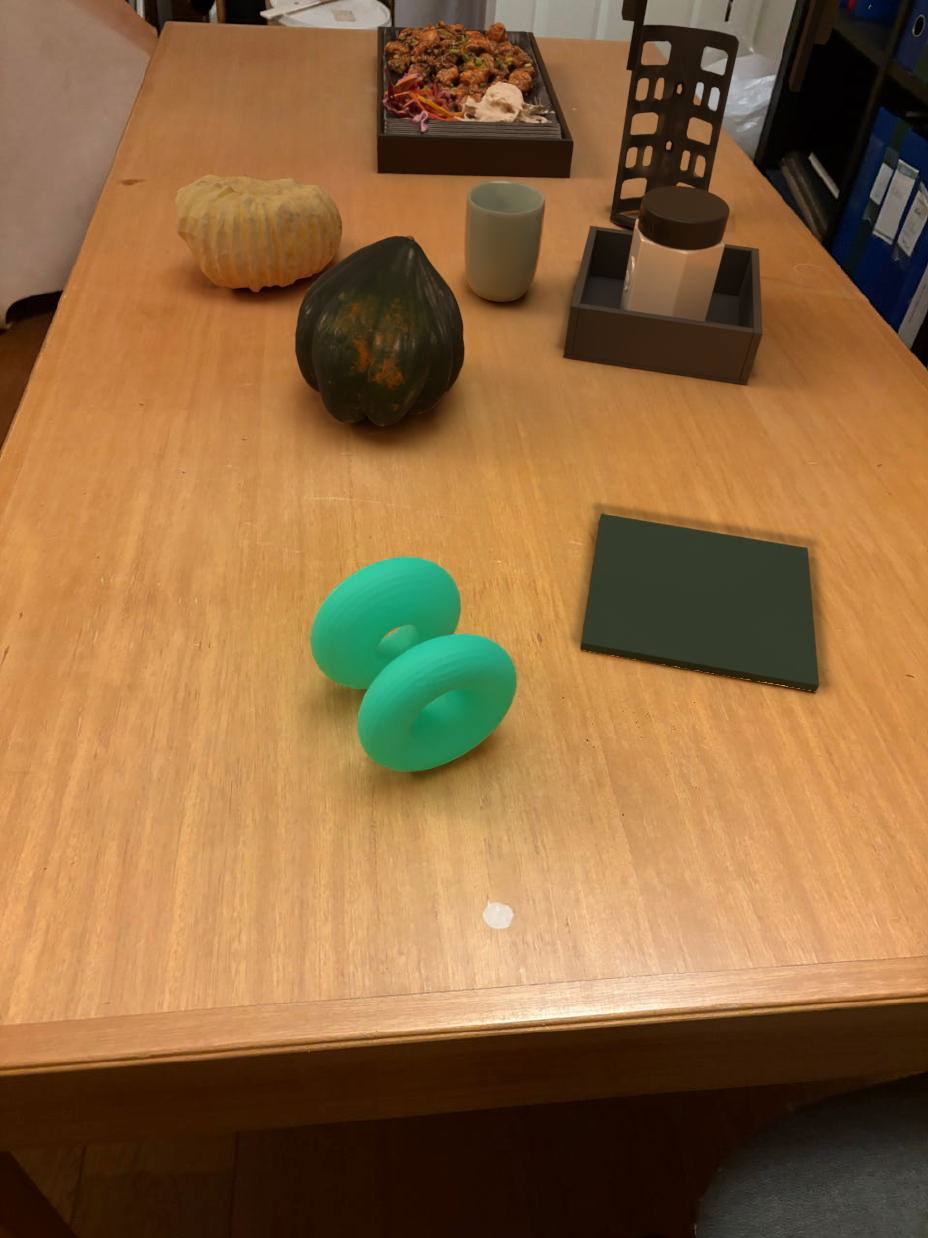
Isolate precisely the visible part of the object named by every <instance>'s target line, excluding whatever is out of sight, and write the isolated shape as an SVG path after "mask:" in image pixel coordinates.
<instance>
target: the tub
mask: <svg viewBox="0 0 928 1238" xmlns="http://www.w3.org/2000/svg"><path fill="white" fill-rule="evenodd" d="M633 233H634V230H633V231H632V230H625V229H616V228H612V227H611V228H610V227H602V226H596V225H589V229H588V233H587V237H586V240H585V245H584V249H583V254H582V257H581V261H580V266H579V270H578V274H577V278H576V282H575V285H574V290H573V295H572V299H571V303H570V307H569V313H568V314H569V315H568V321H567V329H566V336H565V341H564V349H563V356H562V357H563V358H565V359H570V360H578V361H583V362H584V361H585V362H591V363H596V364H597V363H598V364H603V365H604V364H605V365H611V366H618V367H624V368H630V369H631V368H632V369H637V370H643V371H650V372H656V373H663V374H669V375H676V376H683V377H691V378H696V379H704V380H711V381H717V382H722V383H723V382H724V383H730V384H736V385H737V384H738V385H742V386H743V385H744V386H747V385H748V382H749V379H750V375H751V372H752V369H753V367H754V363H755V360H756V356H757V354H758V351H759V347H760V344H761V341H762V338H763V334H764V332H763V331H764V330H763V313H762V311H763V310H762V309H763V307H762V288H761V267H760V265H761V264H760V249H759V248H757V247H749V246H743V245H735V244H727V243H724V244H725V246H724V250H723V254H722V258H721V262H720V265H719V269H718V273H717V277H716V281H715V285H714V288H713V292H712V296H711V300H710V304H709V308H708V311H707V315H706V319H705V321H698V320H691V319H685V318H678V317H671V316H664V315H657V314H650V313H643V312H636V311H629V310H622V309H620V303H621V298H622V292H623V287H624V282H625V276H626V271H627V266H628V260H629V255H630V249H631V244H632V239H633Z"/></svg>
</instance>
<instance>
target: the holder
mask: <svg viewBox="0 0 928 1238" xmlns="http://www.w3.org/2000/svg"><path fill="white" fill-rule="evenodd" d="M649 42H650V43H651V42H661V43H664V42H668V44H670V50H669V57H668V62H667V63H666V64H643V63H642V60H643V59H642V58H643V52H644V46H645V44H646V43H649ZM739 46H740V41H739V39H738V37H737V36H736V35H734V34H730V33H726V32H723V31H718V30H711V29H705V28H698V27H689V26H682V25H681V26H680V25H670V24H644V25H643V31H642V37H641V43H640V48H639V54H638V60H637V65H636V69H635V71H631V74H630V79H629V80H630V81H629V89H628V94H627V101H626V108H625V114H624V115H625V116H624V120H623V121H624V122H623V129H622V135H621V143H620V149H619V156H618V163H617V170H616V177H615V184H614V191H613V196H612V203H611V208H610V209H611V210H610V216H609V221H611V222H612V223H614V224H617V225H619V226H625V227H628V228H632V229H634V228H635V222H636V220H637V219H638V218H633V217H630V216H628V215H624V214H621V213H624V212H633V211H639V209H640V206H641V203H642V198H643V196H644V195H645V194H646V193H647V192H649V191H650V190H653V189H655V188H659V187H665V186H678V184H679V183H681V184H684V185H688V186H689V187H692V188H697V189H701V190H705V191H708V192H709V191H710V184H711V179H712V174H713V169H714V164H715V160H716V155H717V149H718V145H719V140H720V133H721V130H722V126H723V120H724V116H725V111H726V107H727V102H728V97H729V92H730V88H731V83H732V78H733V74H734V70H735V64H736V60H737V55H738V52H739V51H738V50H739V48H740V47H739ZM706 48H712V49H716V50H718V51H723V52H724V53H726V55H727V59H726V62H725V63H726V64H725V67H724V73H723V74H720V73H717V72H714V71H712V70H711V71H710V70H706V69H703V68H702V61H703V56H704V52H705V49H706ZM643 79H647V80H648V85H647V91H646V97H645V98H644V99H641V100H639V99H637V92H638V85H639V81H641V80H643ZM660 79H663V90H662V96H661V98H660V99H658V98H656V97H655V95H656V89H657V86H658V85H657V84H658V81H659V80H660ZM698 84H702V85H703V90H702V95H701V99H700V104H696V103H695V101H694V100H695V96H696V91H697V86H698ZM679 86H681V91H680V93H679V92H678V89H679ZM715 88H716V89H718V92H719V95H718V100H717V107H716V109H715V110H714V109H712V108H711V107H710V106H709V102H710V98H711V93H712V89H715ZM649 113H651V114H652V113H653V114H655V115H657V124H656V128H655V131H654V132H653V133H639V134H637V133H636V134H632V133H631V132H632V124H633V118H634V116H637V115H638V114H649ZM693 118H695V119H697V120H700V121H703V122H705V123H707V124H710V125H711V132H710V133H711V134H710V138H709V144H707V143H705V142H703V141H699V140H696V139H694V138H691V137H689V136H688V131H689V126H690V120H691V119H693ZM669 142H670V143H671V144H670V148H669V149H668V148H667V145H668V143H669ZM647 147H651V148H652V150H651V151H652V152H651V155H650V156H651V157H650V163H649V164H648V165H644V164H643V163H644V158H645V152H646V149H647ZM633 148H636V149H637V151H636V157H635V162H634V163H635V164H634V165H632V166H629V167H627V159H628V152H629V150H630V149H633ZM685 151H686V152H689V157H688V162H687V163H688V164H687V168H686V169H685V170H684V169H682V168H681V165H682V160H683V156H684V152H685ZM699 156H700V157H703V158H704V163H705V165H704V171H703V175H702V176H700V175H698V174H697V173H696V172H695V170H696V165H697V160H698V158H699ZM635 179H645V180H646V183H645V189H644V193H643V195H642V196H636V197H635V196H633V197H632V196H631V197H627V198H621V196H622V189H623V184H624V183H625V181H628V180H635Z"/></svg>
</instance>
